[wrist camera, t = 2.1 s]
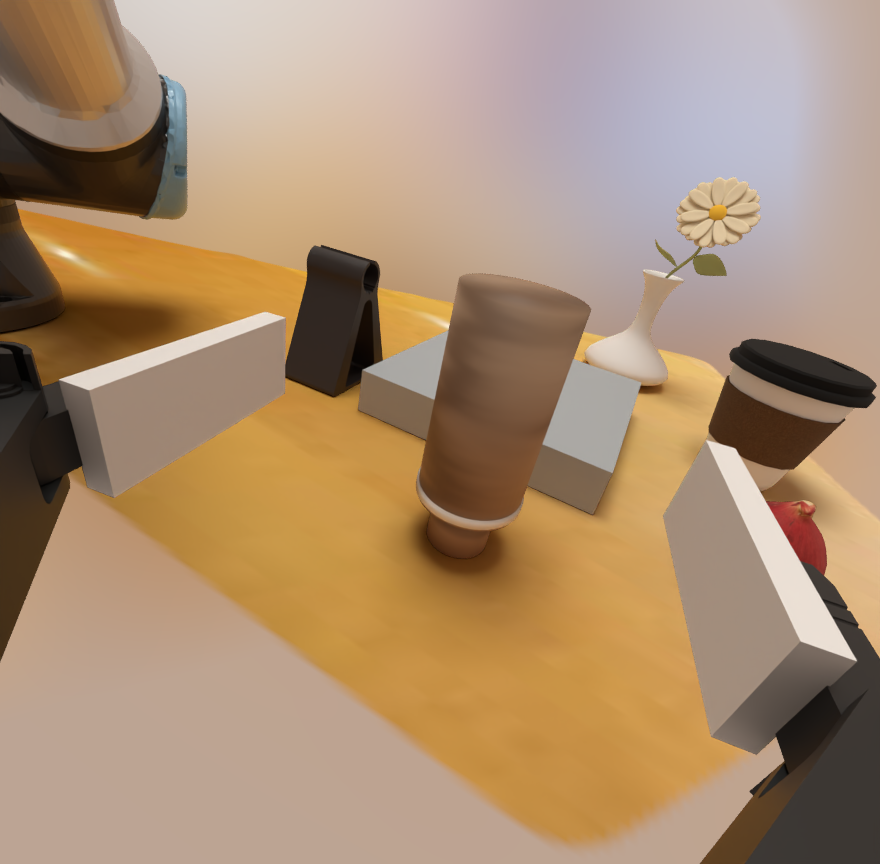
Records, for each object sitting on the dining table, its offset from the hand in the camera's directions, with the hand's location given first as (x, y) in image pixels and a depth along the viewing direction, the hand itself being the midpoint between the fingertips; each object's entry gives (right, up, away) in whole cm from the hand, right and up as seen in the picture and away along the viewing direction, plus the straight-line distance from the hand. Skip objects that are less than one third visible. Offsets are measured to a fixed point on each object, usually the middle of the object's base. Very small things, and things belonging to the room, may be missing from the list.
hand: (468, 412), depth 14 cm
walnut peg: (0, -7, +16) cm, 17 cm away
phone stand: (-12, +5, +33) cm, 35 cm away
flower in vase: (+25, +7, +49) cm, 55 cm away
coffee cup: (+28, -5, +31) cm, 42 cm away
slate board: (+6, +1, +33) cm, 33 cm away
